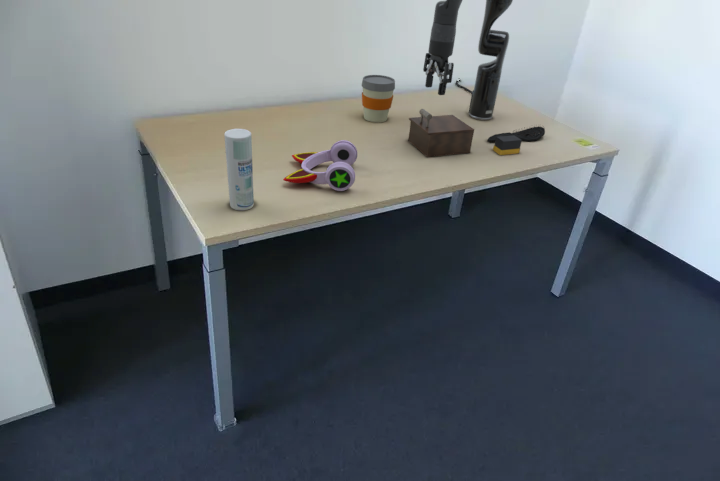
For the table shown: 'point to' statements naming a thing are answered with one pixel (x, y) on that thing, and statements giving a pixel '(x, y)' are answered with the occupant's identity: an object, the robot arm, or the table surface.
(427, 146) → the case
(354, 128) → the table surface
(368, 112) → the reusable coffee cup
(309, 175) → the headphones
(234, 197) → the spray can
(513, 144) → the duster
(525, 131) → the hairbrush
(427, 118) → the case lid
